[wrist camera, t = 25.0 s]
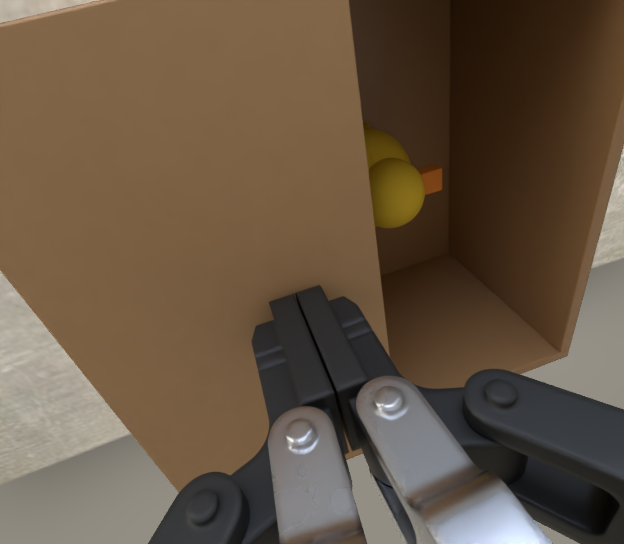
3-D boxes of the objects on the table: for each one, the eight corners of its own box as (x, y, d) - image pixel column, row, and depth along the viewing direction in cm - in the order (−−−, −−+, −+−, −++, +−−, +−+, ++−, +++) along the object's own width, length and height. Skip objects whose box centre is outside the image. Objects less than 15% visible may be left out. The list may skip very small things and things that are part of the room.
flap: (198, 508, 16) (199, 519, 15) (-152, 60, 6) (-168, 63, 6) (395, 431, 17) (399, 439, 16) (335, -53, 7) (343, -56, 7)
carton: (189, 341, 24) (196, 499, 16) (26, 31, 14) (-143, 55, 7) (450, 252, 26) (568, 356, 18) (455, -70, 16) (700, -139, 9)
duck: (265, 228, 21) (292, 293, 16) (240, 144, 18) (263, 192, 13) (396, 188, 21) (458, 237, 17) (390, 102, 19) (461, 132, 14)
